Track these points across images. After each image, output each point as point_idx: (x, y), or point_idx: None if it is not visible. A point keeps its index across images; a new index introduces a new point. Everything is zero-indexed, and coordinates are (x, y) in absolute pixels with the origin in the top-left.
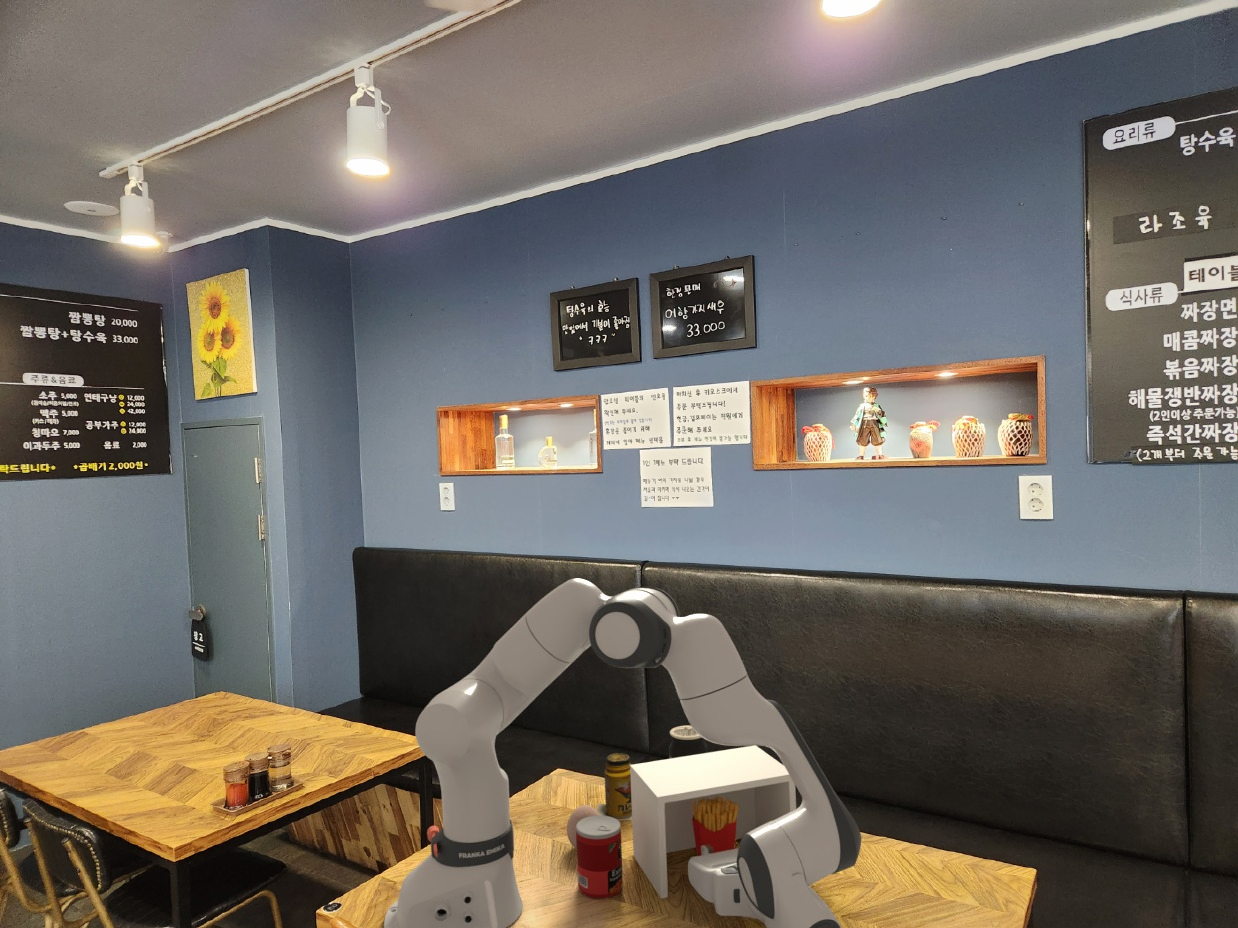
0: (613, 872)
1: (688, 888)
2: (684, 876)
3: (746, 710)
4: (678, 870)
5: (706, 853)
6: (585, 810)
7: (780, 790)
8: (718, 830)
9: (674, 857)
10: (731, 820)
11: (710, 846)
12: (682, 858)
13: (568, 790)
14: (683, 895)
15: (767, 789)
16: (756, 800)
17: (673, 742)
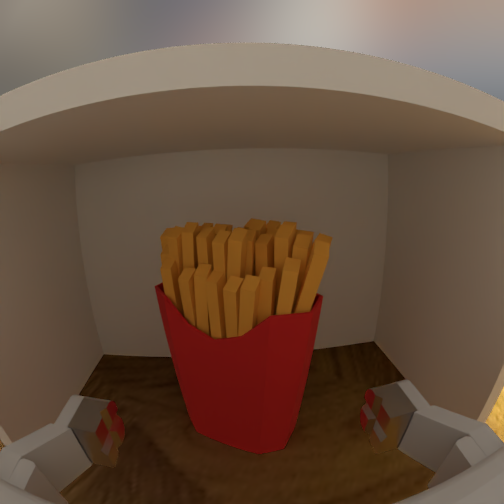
0: None
1: (104, 477)
2: (131, 432)
3: None
4: (135, 409)
5: (22, 453)
6: None
7: (487, 207)
8: (231, 338)
9: (161, 371)
10: (291, 304)
11: (98, 418)
12: (175, 378)
13: None
14: (71, 492)
15: (428, 226)
16: (387, 267)
17: None
